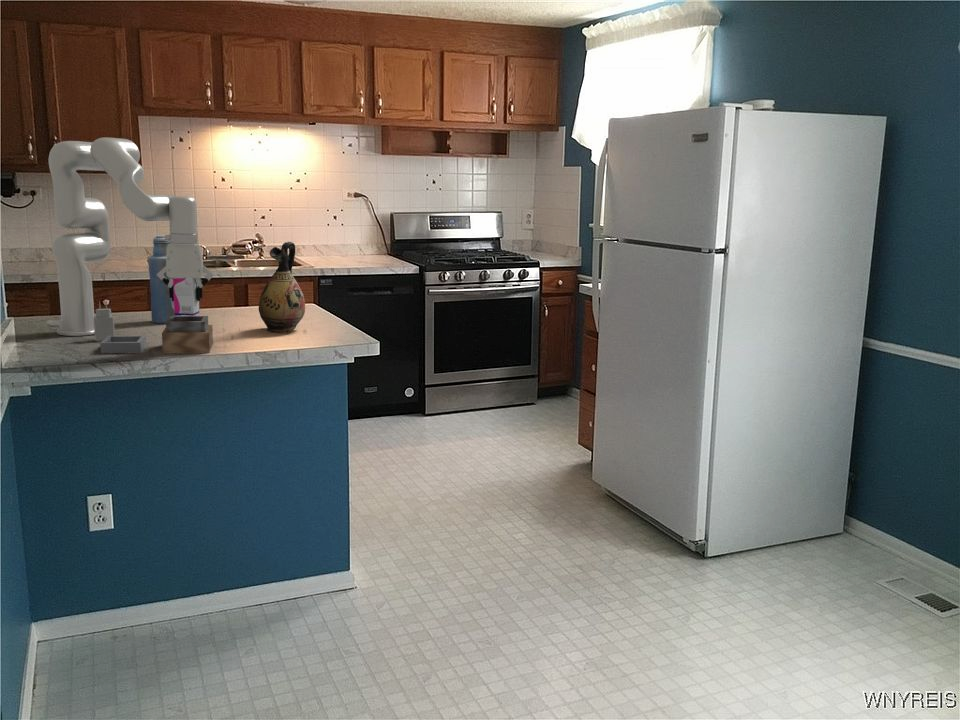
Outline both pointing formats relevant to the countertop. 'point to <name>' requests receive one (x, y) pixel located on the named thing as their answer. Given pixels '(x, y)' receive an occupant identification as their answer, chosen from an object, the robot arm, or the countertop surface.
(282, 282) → the ceramic jug
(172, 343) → the raised dock
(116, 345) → the low collar
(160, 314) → the bottle
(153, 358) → the countertop surface
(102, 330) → the power adapter
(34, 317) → the countertop surface
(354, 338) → the countertop surface
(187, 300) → the supplement box
